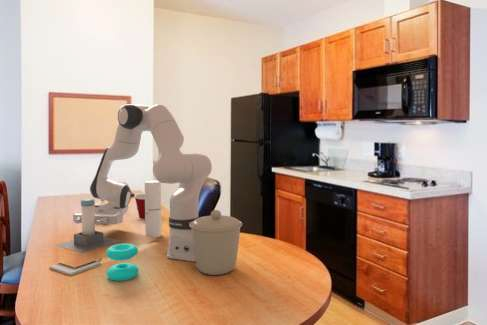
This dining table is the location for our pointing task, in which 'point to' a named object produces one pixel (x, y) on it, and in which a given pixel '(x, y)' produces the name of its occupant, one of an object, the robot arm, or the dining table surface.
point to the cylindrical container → (153, 208)
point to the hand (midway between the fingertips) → (87, 222)
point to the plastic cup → (140, 204)
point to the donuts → (122, 269)
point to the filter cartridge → (88, 217)
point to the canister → (216, 243)
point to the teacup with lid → (100, 203)
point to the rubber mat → (73, 270)
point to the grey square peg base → (88, 242)
